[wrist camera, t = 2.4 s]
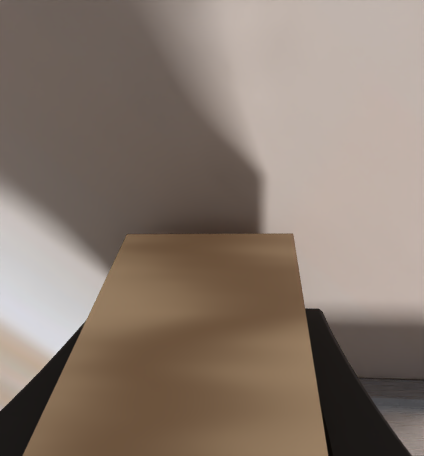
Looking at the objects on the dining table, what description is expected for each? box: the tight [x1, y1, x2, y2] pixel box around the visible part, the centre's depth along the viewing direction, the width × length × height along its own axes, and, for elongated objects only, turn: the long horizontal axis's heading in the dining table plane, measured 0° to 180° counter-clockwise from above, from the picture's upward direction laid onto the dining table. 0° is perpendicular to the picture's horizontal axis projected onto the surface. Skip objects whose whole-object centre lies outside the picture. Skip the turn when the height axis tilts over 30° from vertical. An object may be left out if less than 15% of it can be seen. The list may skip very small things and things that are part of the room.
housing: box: [23, 234, 328, 456], centre depth 9 cm, size 4×4×6 cm
